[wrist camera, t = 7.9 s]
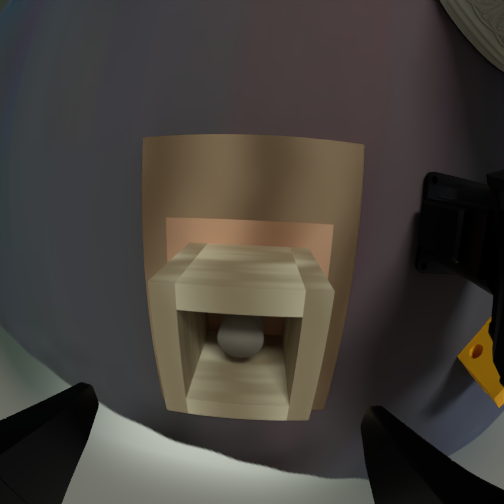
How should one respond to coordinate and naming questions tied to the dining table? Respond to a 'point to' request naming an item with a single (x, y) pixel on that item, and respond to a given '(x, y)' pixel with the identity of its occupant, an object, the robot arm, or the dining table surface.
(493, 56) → the jar
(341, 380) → the dining table surface
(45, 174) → the dining table surface
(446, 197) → the robot arm
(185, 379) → the collar
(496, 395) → the pipe clamp
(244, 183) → the post board
